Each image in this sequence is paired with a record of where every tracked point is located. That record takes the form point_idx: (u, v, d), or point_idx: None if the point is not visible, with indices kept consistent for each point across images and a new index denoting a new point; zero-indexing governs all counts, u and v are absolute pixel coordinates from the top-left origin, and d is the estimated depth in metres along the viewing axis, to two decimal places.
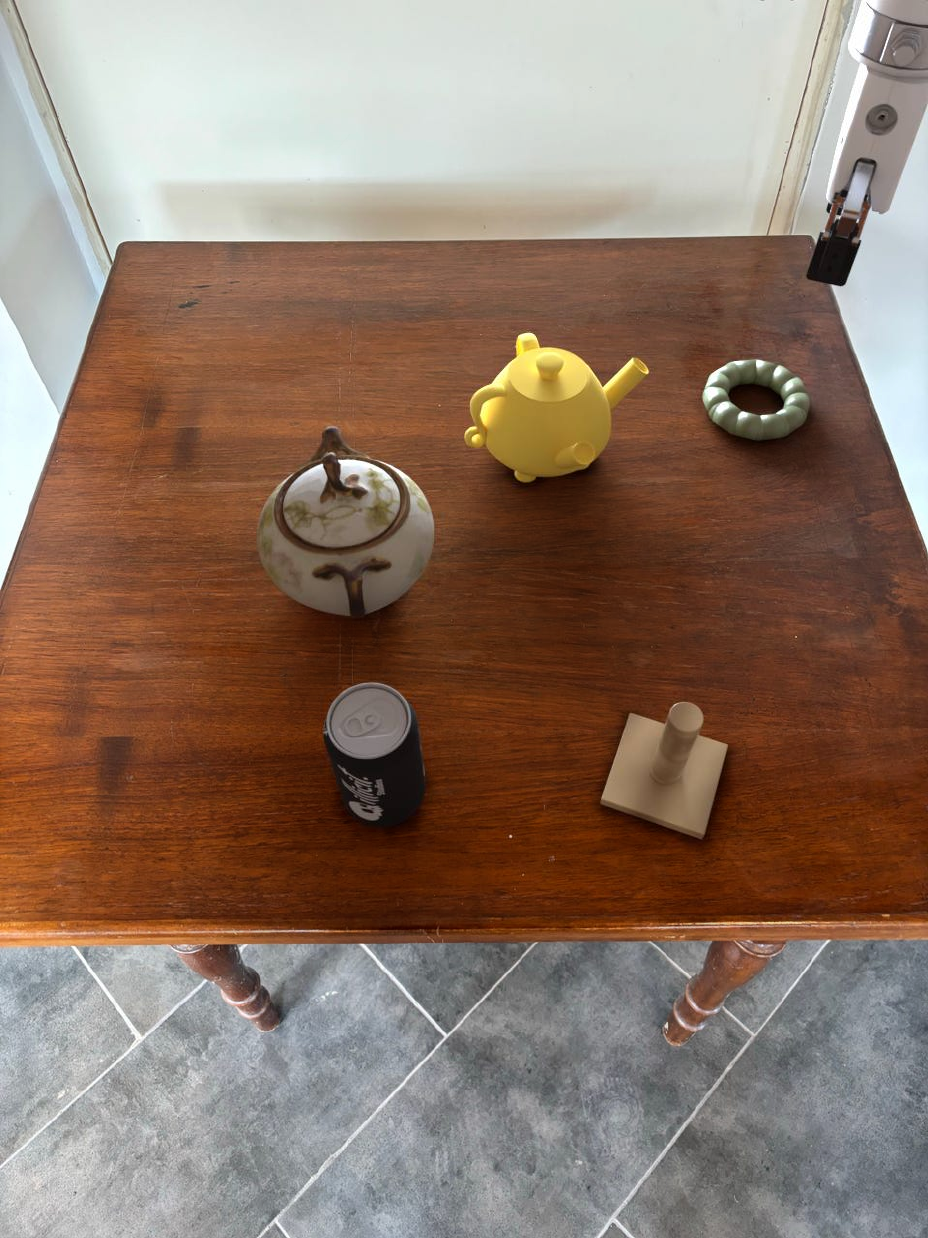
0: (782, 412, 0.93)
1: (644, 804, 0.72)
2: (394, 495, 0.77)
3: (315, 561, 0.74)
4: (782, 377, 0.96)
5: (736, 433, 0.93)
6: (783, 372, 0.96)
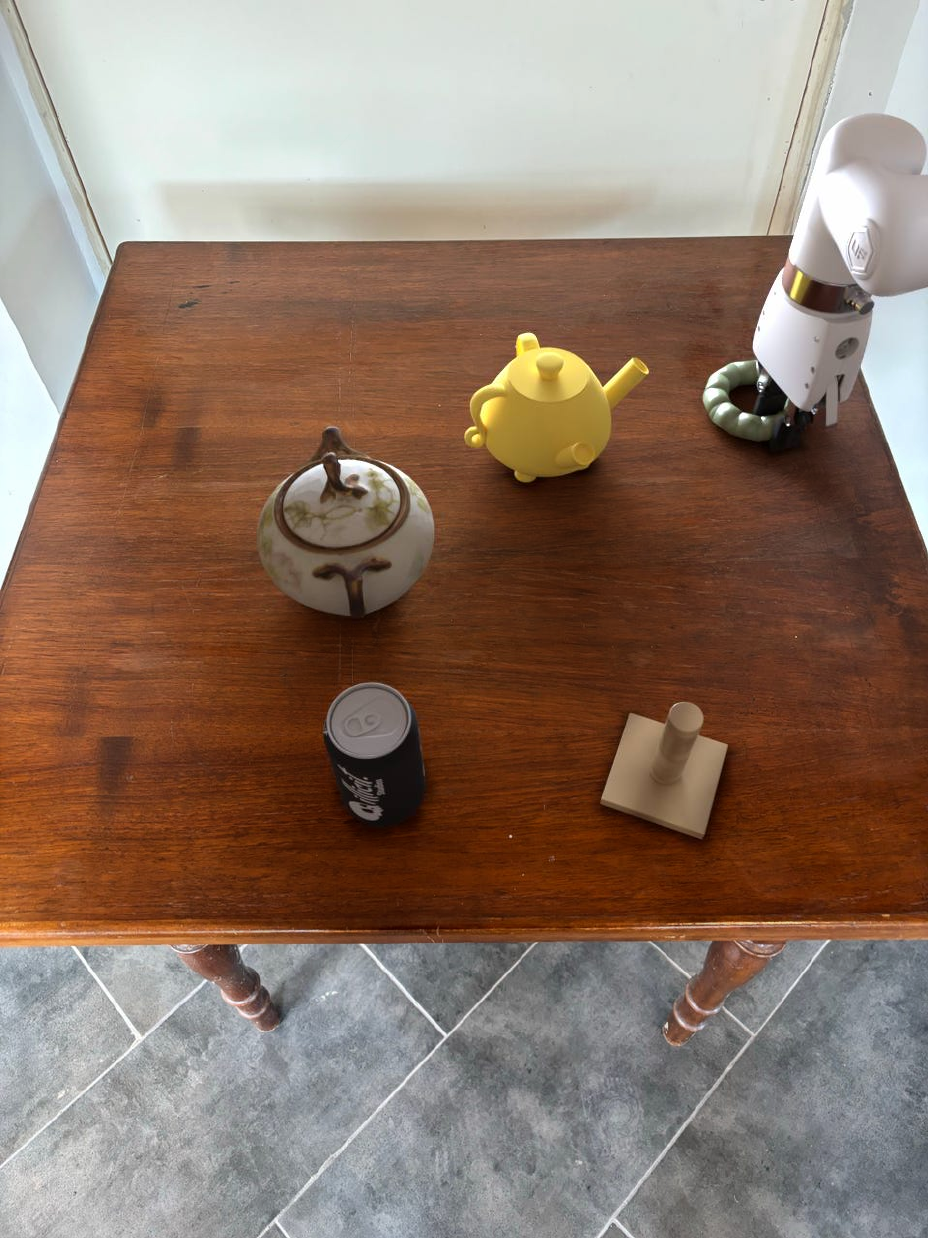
0: (783, 413, 0.93)
1: (644, 804, 0.72)
2: (395, 495, 0.77)
3: (315, 561, 0.74)
4: None
5: (737, 434, 0.93)
6: None
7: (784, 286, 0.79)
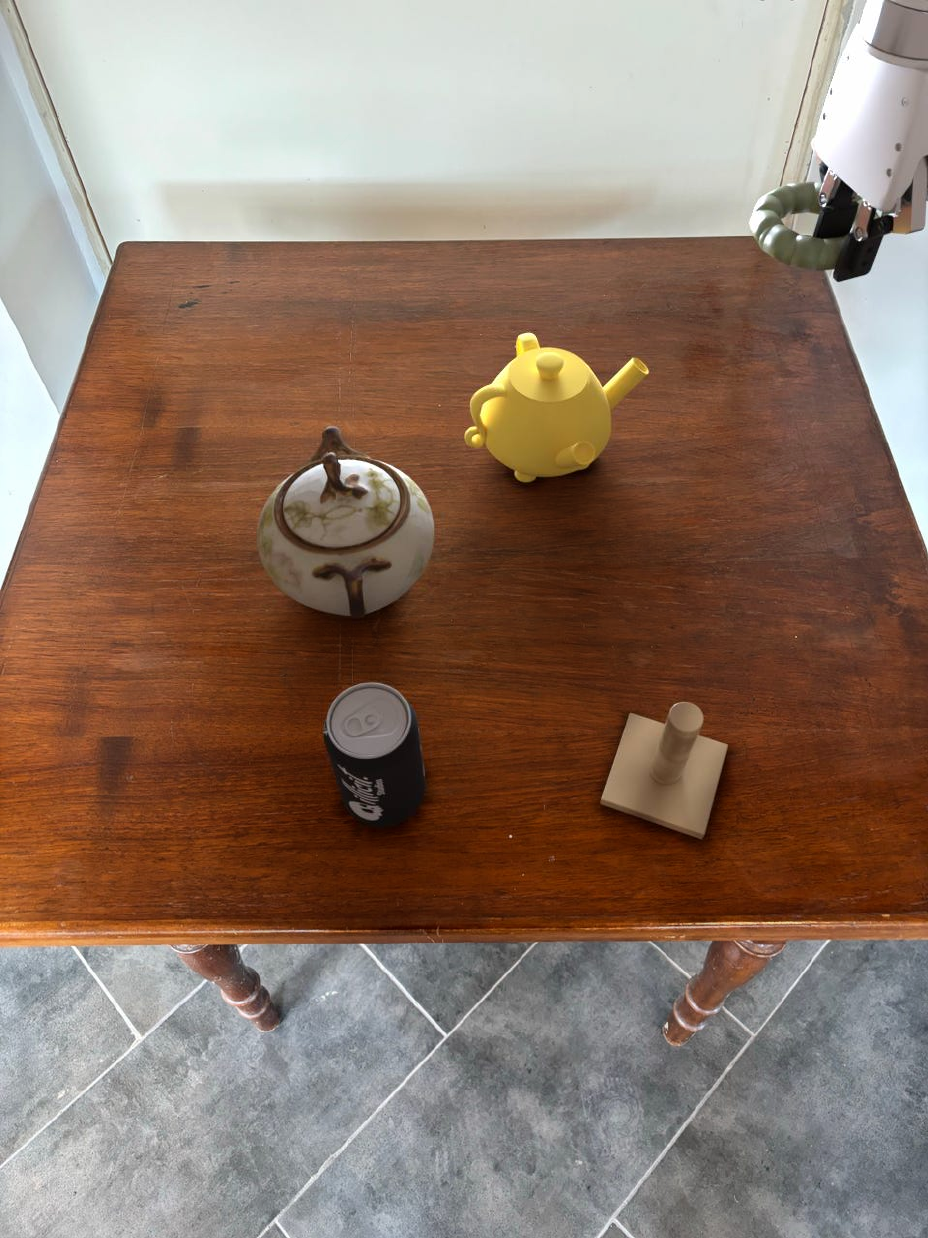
0: None
1: (644, 804, 0.72)
2: (395, 495, 0.77)
3: (315, 561, 0.74)
4: None
5: (793, 261, 0.76)
6: None
7: (864, 33, 0.62)
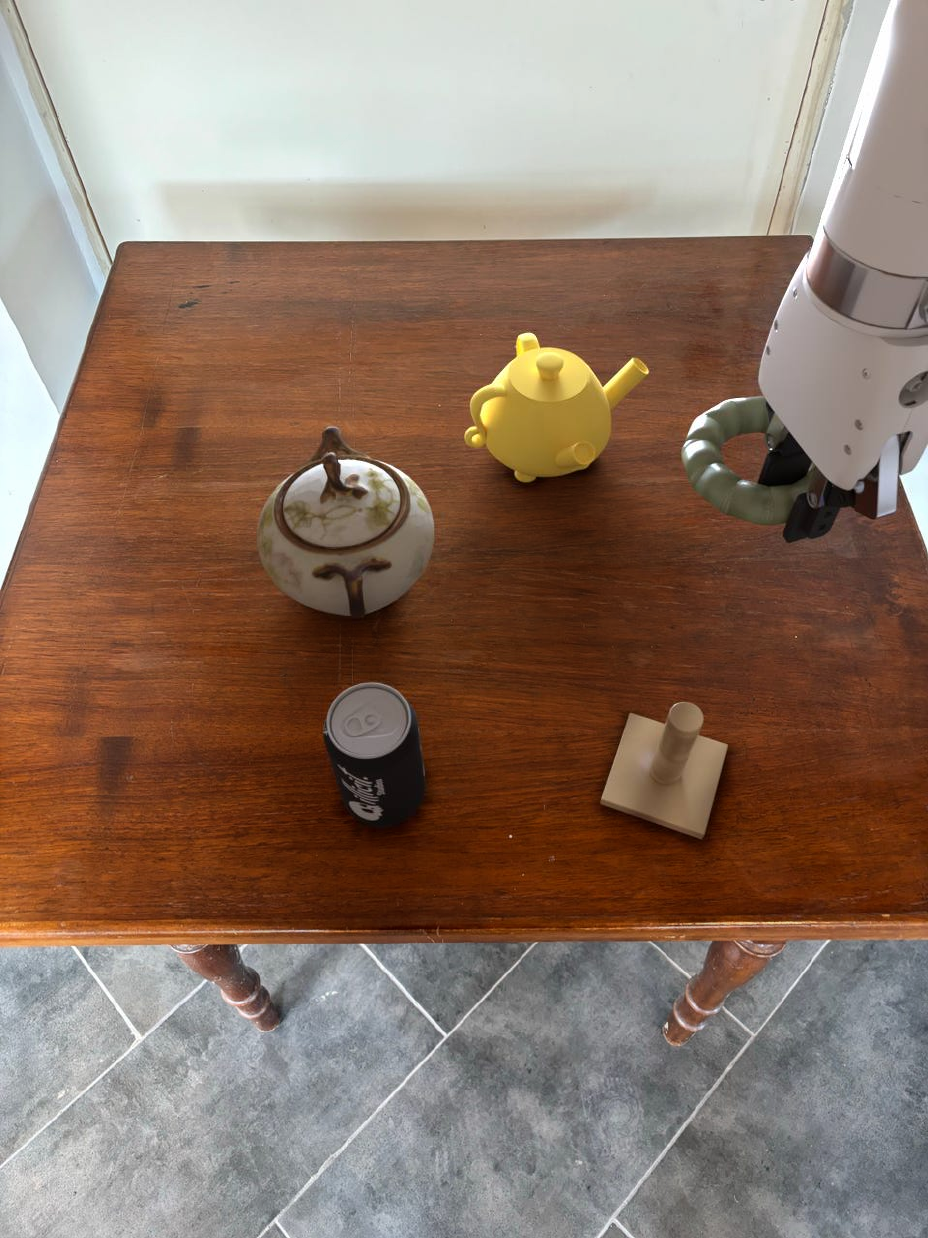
0: (805, 482, 0.59)
1: (644, 804, 0.72)
2: (395, 495, 0.77)
3: (315, 561, 0.74)
4: None
5: (731, 513, 0.59)
6: None
7: (811, 280, 0.46)
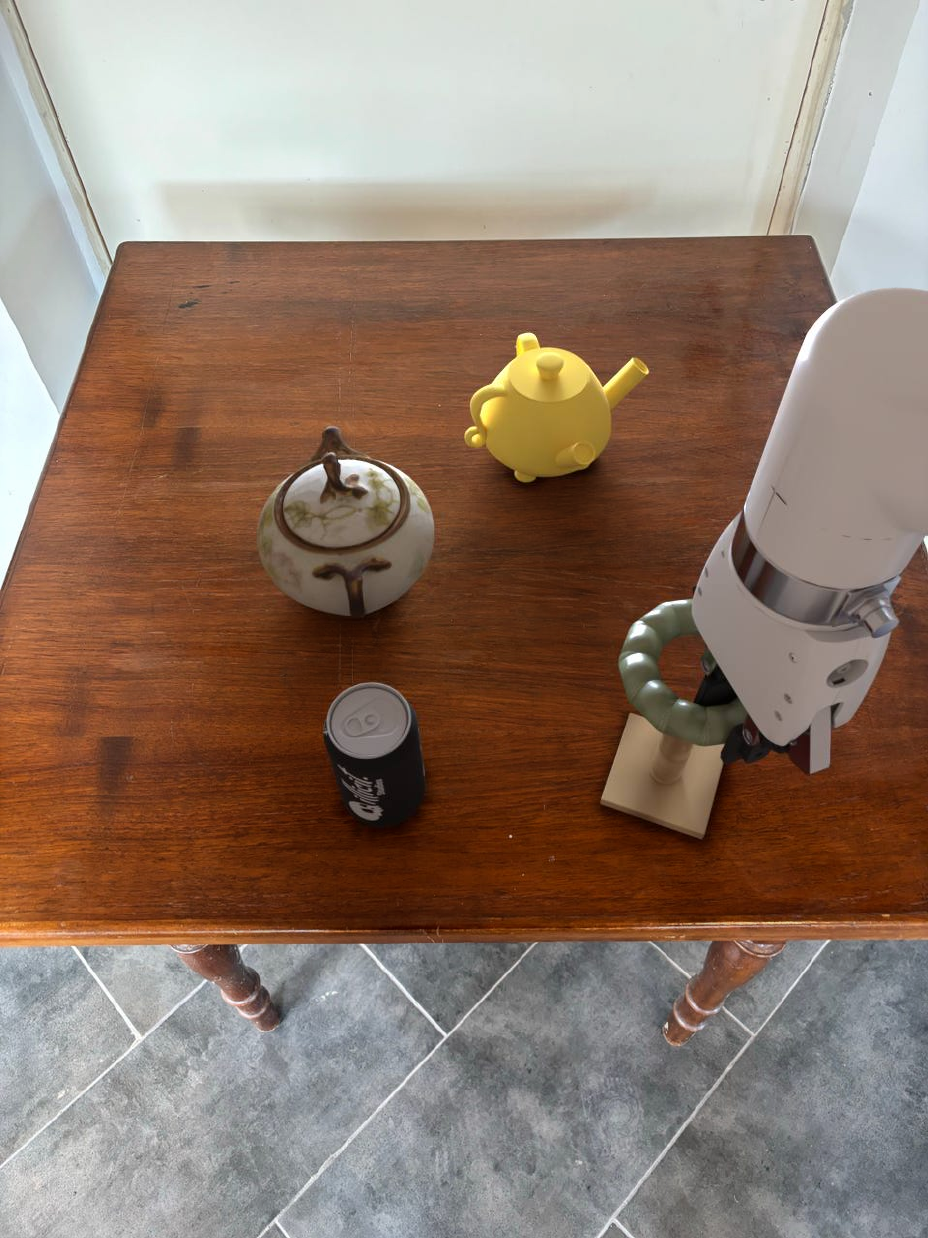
0: (742, 704, 0.58)
1: (644, 804, 0.72)
2: (395, 495, 0.77)
3: (315, 561, 0.74)
4: None
5: (668, 734, 0.58)
6: None
7: (735, 564, 0.44)
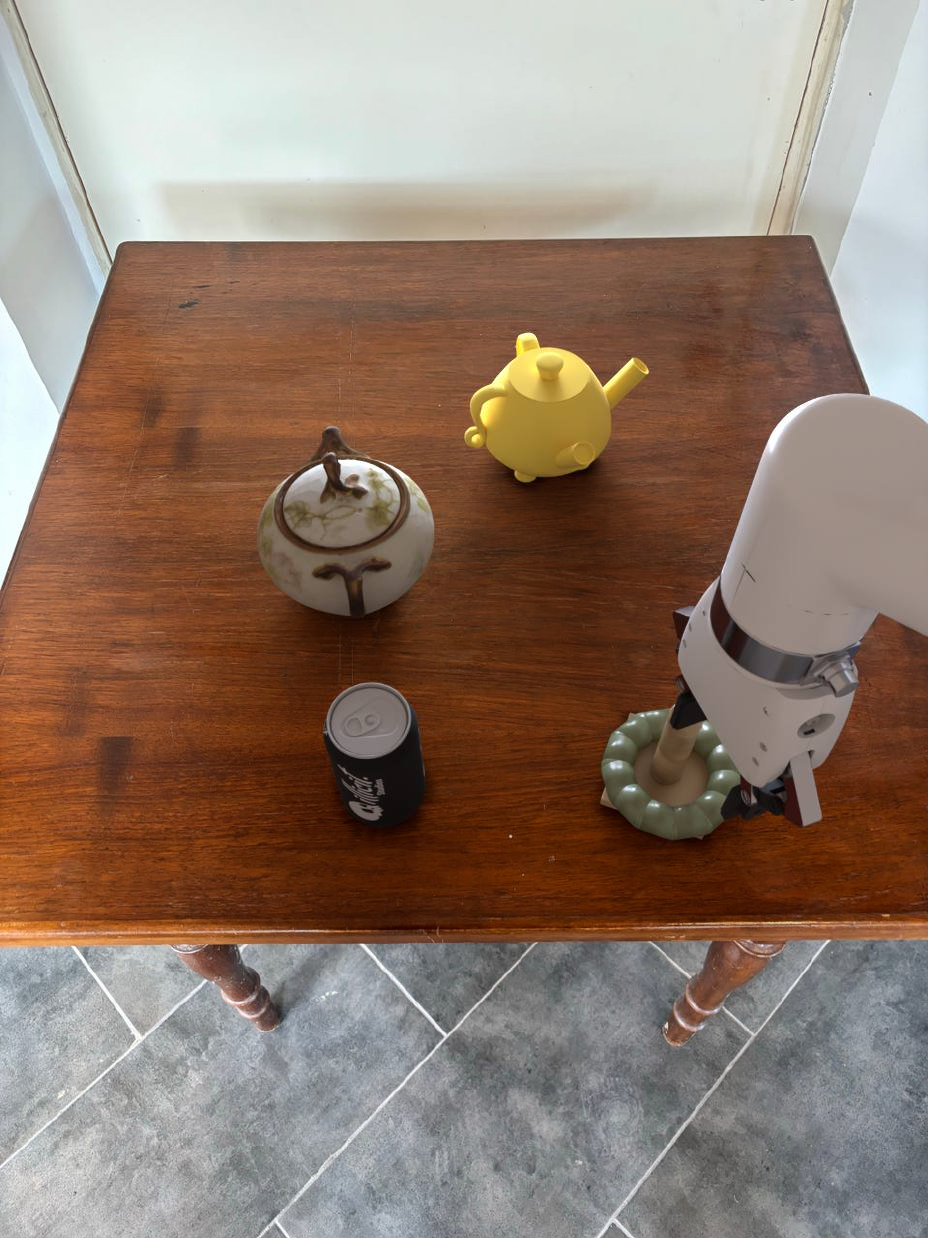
0: (703, 804, 0.69)
1: None
2: (395, 495, 0.77)
3: (315, 561, 0.74)
4: (706, 742, 0.72)
5: (643, 830, 0.70)
6: (707, 733, 0.72)
7: (713, 627, 0.49)
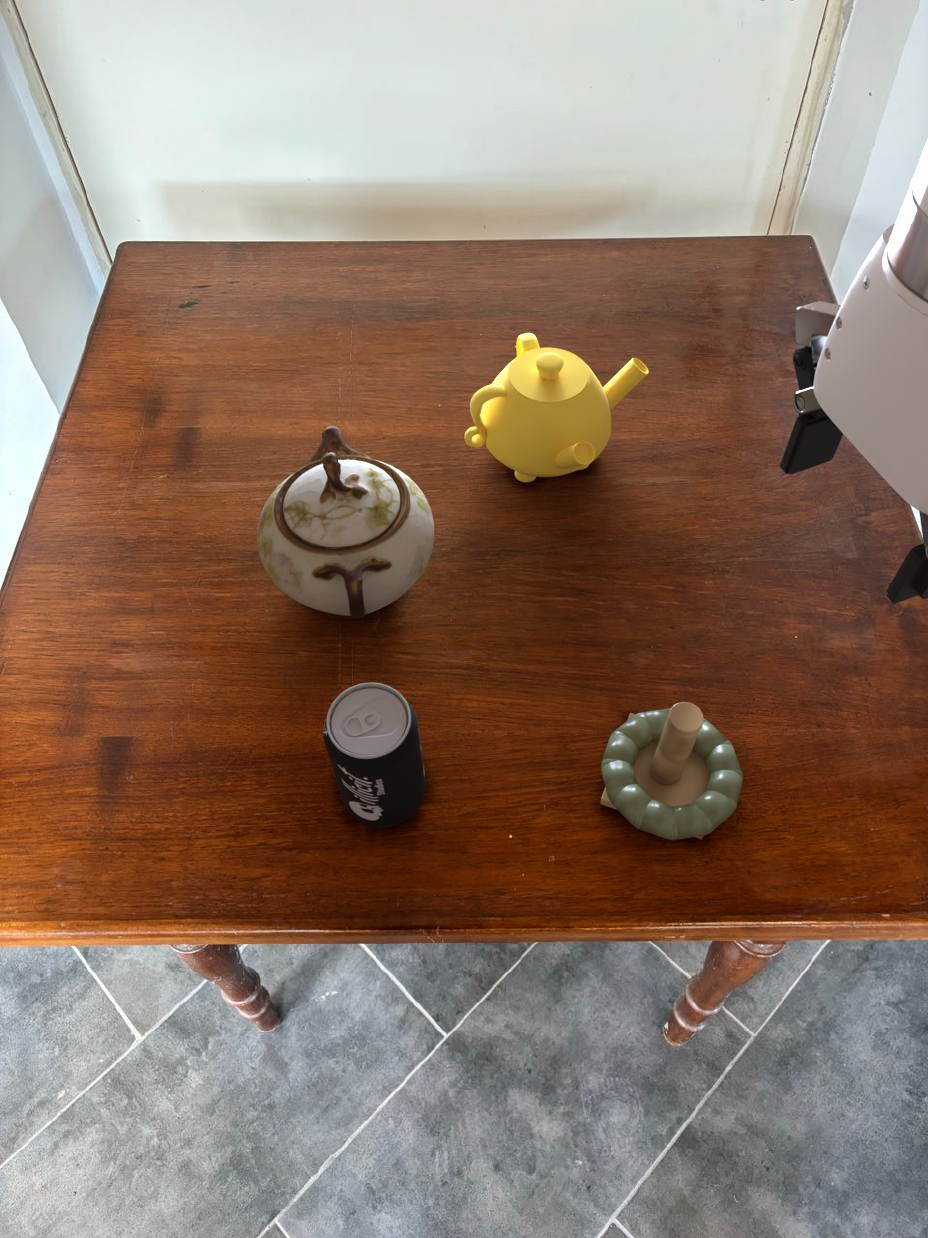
0: (703, 804, 0.69)
1: None
2: (395, 495, 0.77)
3: (315, 561, 0.74)
4: (706, 742, 0.72)
5: (643, 830, 0.70)
6: (707, 733, 0.72)
7: (897, 268, 0.37)
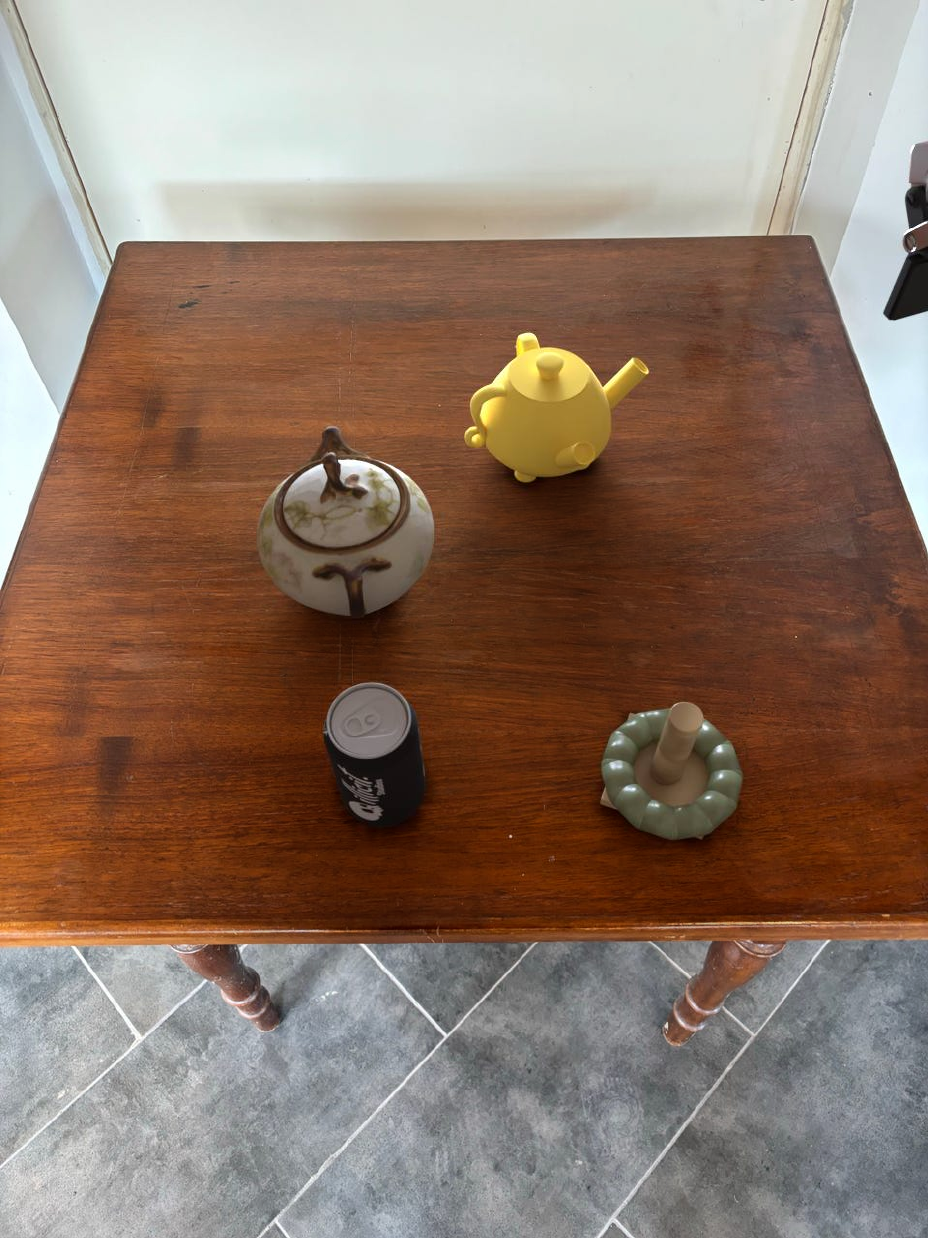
0: (703, 804, 0.69)
1: None
2: (395, 495, 0.77)
3: (315, 561, 0.74)
4: (706, 742, 0.72)
5: (643, 830, 0.70)
6: (707, 733, 0.72)
7: None
